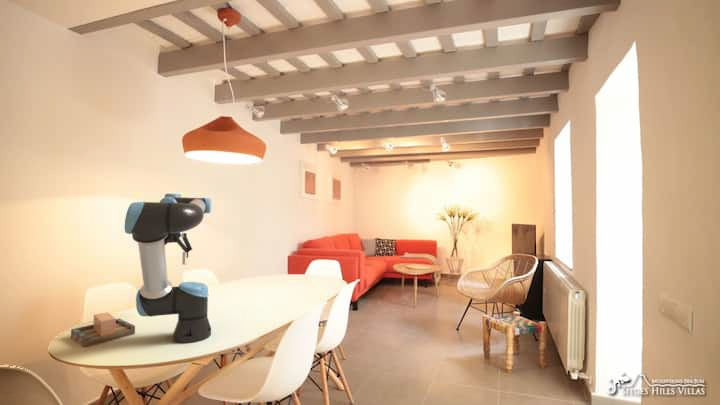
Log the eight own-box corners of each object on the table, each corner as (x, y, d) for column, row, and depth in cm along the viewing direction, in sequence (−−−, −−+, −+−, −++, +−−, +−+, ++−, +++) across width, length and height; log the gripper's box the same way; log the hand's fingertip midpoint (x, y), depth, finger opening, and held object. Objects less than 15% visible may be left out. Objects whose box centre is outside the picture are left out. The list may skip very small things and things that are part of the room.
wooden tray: (134, 334, 151) (135, 325, 151) (84, 347, 136) (85, 338, 136) (119, 326, 160) (119, 318, 160) (70, 338, 145) (71, 329, 145)
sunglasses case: (115, 332, 145) (115, 318, 145) (100, 336, 141) (101, 321, 141) (107, 325, 153) (107, 312, 154) (93, 328, 150) (93, 314, 150)
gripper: (192, 223, 184) (191, 262, 184) (141, 224, 164) (140, 268, 163) (199, 223, 180) (198, 263, 180) (149, 225, 159) (147, 270, 159)
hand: (171, 266), depth 171 cm, fingers open, 13 cm apart
